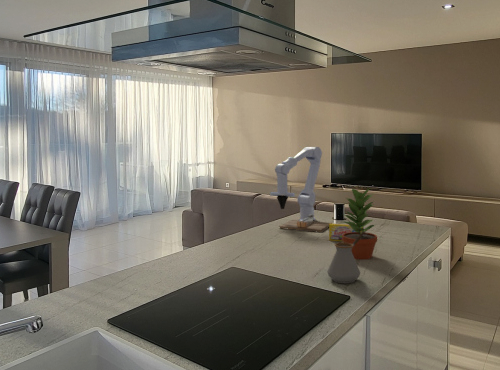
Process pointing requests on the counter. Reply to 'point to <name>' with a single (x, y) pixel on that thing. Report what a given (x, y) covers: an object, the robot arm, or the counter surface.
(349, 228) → the candy box
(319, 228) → the walnut board
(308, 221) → the tongs fixed arm
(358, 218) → the potted plant
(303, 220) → the tongs swing arm
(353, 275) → the coffee pot
